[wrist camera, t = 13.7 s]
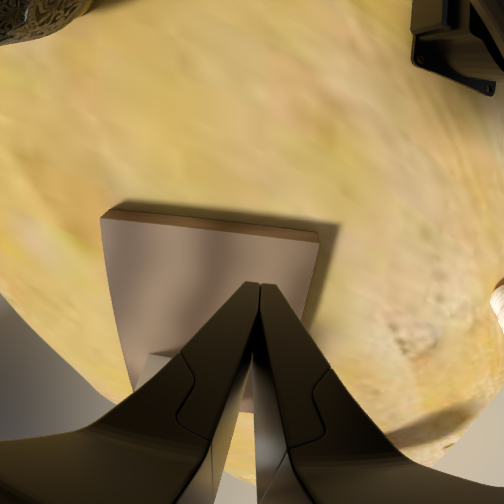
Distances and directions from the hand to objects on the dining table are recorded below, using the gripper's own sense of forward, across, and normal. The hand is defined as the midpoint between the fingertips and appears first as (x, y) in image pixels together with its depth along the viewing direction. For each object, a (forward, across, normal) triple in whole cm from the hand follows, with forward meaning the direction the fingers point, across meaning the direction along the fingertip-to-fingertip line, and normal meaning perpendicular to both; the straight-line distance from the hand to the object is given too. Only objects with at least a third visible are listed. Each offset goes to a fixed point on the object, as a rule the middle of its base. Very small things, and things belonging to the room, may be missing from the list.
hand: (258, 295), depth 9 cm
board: (+12, +4, +13) cm, 18 cm away
